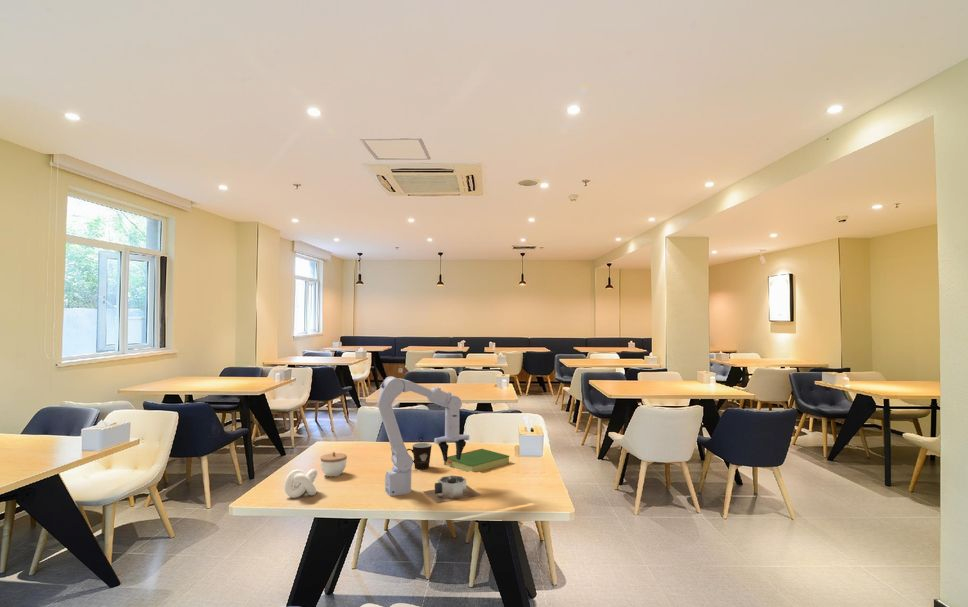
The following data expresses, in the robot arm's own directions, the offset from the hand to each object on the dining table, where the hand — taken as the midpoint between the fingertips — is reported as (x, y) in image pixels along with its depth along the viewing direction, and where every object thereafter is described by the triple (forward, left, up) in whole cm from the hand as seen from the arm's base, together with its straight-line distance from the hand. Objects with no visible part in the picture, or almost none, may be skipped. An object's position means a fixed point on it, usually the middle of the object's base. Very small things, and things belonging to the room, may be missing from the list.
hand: (451, 460), depth 188 cm
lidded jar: (-38, +38, -11) cm, 55 cm away
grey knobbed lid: (-4, -9, -9) cm, 13 cm away
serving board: (-4, -9, -10) cm, 14 cm away
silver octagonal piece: (-5, -9, -10) cm, 14 cm away
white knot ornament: (-54, +18, -11) cm, 58 cm away
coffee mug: (-2, +31, -11) cm, 33 cm away
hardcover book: (+24, +24, -11) cm, 36 cm away
